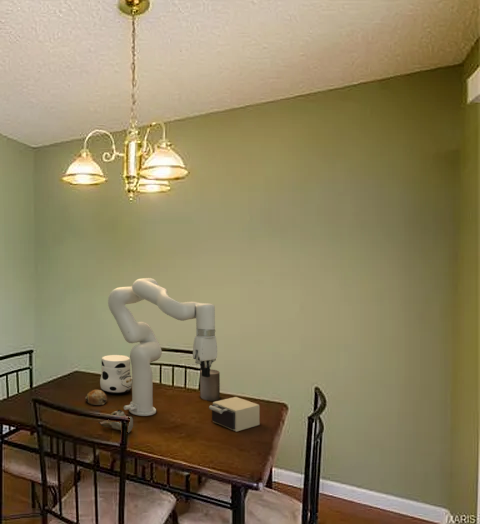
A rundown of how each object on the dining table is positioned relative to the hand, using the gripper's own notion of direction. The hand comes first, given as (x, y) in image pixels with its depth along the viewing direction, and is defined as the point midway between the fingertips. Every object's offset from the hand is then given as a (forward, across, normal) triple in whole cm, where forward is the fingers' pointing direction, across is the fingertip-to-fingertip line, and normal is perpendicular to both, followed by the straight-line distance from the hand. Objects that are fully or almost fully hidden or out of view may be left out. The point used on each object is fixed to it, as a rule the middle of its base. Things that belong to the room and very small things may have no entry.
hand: (205, 376), depth 178 cm
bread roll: (+22, +22, -52) cm, 61 cm away
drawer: (+21, -12, +2) cm, 24 cm away
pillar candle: (+22, -32, -28) cm, 48 cm away
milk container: (+22, +3, -62) cm, 66 cm away
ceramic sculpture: (+22, +32, -18) cm, 43 cm away
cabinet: (+22, -16, +2) cm, 27 cm away
